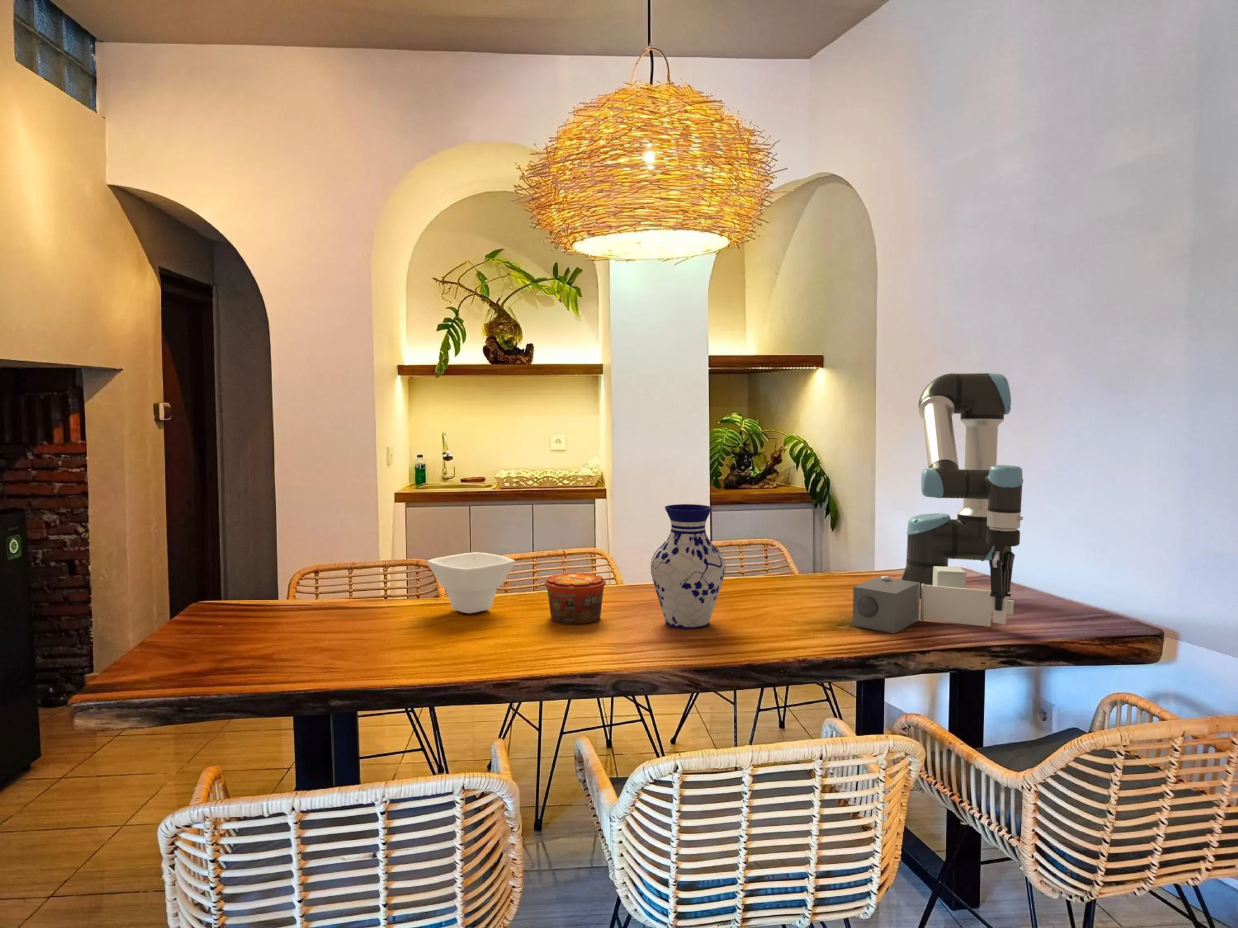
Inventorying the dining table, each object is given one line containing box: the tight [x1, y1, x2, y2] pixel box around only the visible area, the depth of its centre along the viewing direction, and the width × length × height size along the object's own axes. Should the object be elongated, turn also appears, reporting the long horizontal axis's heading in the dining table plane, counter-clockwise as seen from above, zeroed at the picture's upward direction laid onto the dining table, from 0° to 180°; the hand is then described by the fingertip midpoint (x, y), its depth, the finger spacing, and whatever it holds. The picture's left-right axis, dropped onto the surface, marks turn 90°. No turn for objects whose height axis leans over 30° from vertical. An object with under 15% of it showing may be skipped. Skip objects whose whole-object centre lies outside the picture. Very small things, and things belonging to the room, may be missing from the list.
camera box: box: [852, 575, 921, 634], centre depth 220 cm, size 17×11×11 cm, turn 140°
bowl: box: [426, 551, 516, 614], centre depth 230 cm, size 19×19×14 cm
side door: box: [919, 584, 1015, 628], centre depth 219 cm, size 22×1×10 cm, turn 67°
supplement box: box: [933, 566, 967, 588], centre depth 228 cm, size 7×7×13 cm
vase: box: [650, 503, 726, 630], centre depth 218 cm, size 19×19×30 cm
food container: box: [544, 571, 607, 626], centre depth 224 cm, size 16×16×11 cm
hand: (999, 622), depth 213 cm, fingers closed
